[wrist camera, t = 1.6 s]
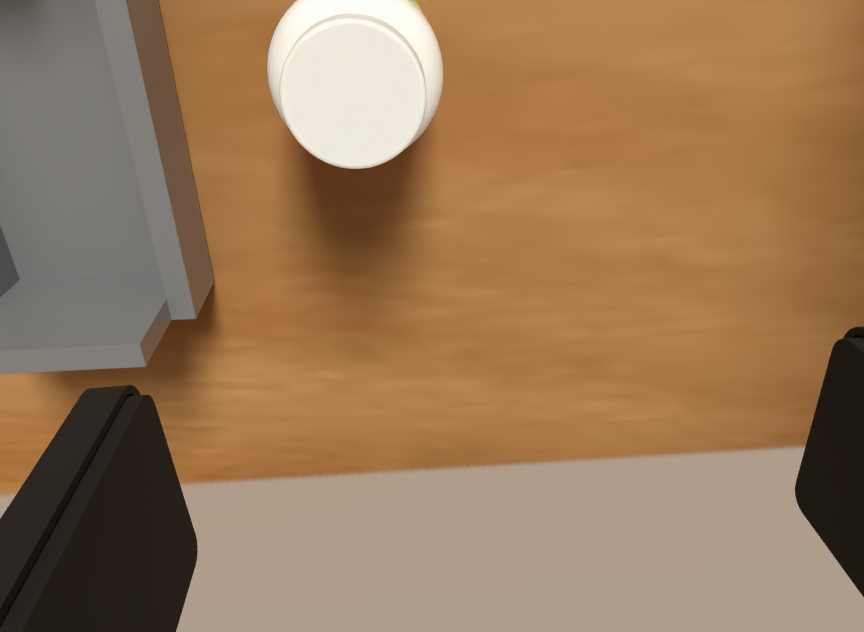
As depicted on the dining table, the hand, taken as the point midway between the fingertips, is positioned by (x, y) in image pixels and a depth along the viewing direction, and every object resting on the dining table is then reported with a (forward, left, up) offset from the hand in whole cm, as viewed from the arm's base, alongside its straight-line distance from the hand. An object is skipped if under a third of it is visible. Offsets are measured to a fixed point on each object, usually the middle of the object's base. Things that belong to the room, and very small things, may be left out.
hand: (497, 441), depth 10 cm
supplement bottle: (-2, -2, -22) cm, 22 cm away
